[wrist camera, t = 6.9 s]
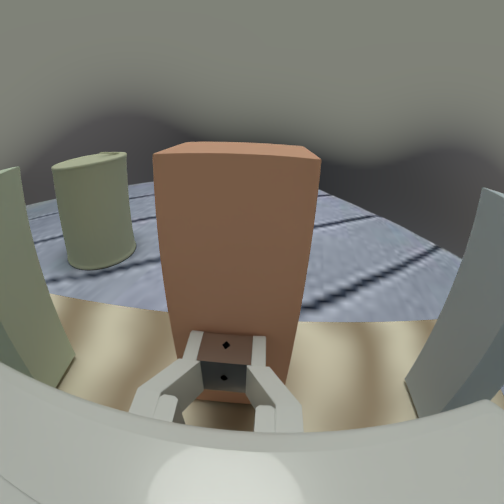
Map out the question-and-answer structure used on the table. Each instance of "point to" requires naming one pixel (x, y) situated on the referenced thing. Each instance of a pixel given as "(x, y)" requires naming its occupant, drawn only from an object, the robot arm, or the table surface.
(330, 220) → the table surface
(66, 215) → the can
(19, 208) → the sage key
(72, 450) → the robot arm
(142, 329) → the wooden board
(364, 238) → the table surface
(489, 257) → the slate key
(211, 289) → the terracotta key
